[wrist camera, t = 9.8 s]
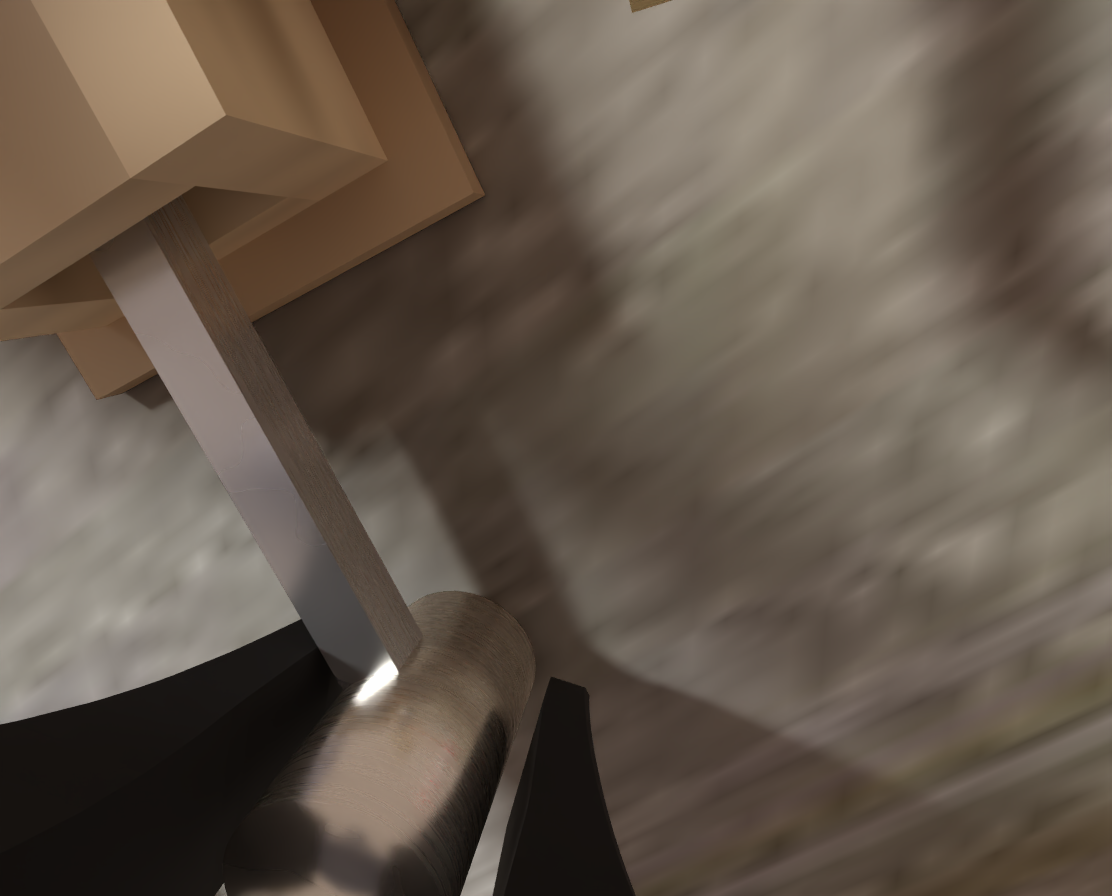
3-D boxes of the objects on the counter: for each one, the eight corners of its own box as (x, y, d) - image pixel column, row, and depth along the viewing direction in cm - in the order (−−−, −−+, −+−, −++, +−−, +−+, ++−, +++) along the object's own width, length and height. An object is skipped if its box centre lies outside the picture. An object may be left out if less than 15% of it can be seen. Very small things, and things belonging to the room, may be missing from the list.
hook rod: (13, -5, 11) (-505, -196, 6) (143, -110, 10) (-334, -421, 5) (432, 739, 13) (297, 1006, 9) (560, 700, 13) (487, 970, 8)
